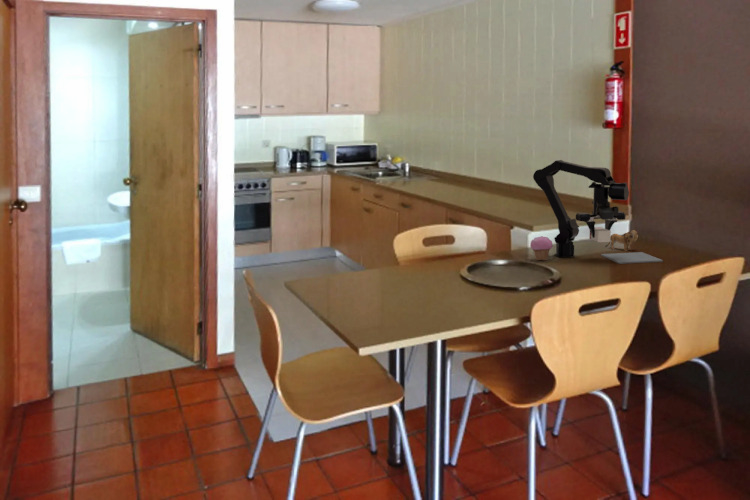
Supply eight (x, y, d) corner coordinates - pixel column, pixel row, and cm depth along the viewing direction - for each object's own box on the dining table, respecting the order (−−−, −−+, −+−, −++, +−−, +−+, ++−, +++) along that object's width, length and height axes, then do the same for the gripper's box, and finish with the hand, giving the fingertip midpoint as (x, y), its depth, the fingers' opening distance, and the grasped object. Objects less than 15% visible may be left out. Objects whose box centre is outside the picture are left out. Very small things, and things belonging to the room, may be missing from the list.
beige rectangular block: (598, 242, 269) (598, 231, 268) (589, 238, 277) (589, 227, 277) (610, 241, 269) (610, 230, 268) (601, 238, 278) (601, 227, 277)
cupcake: (552, 258, 280) (552, 234, 278) (552, 262, 272) (552, 238, 270) (530, 257, 282) (530, 234, 281) (529, 262, 274) (529, 238, 272)
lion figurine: (639, 250, 292) (640, 229, 290) (634, 252, 288) (634, 231, 286) (607, 246, 302) (608, 227, 300) (601, 248, 298) (602, 228, 296)
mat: (618, 263, 265) (619, 262, 265) (600, 255, 283) (600, 254, 283) (662, 261, 266) (663, 260, 266) (642, 253, 284) (642, 252, 284)
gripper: (585, 202, 262) (584, 241, 265) (632, 200, 263) (630, 239, 266) (575, 199, 273) (574, 237, 275) (620, 197, 274) (618, 235, 277)
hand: (599, 237), depth 273 cm, fingers closed on beige rectangular block, 5 cm apart
